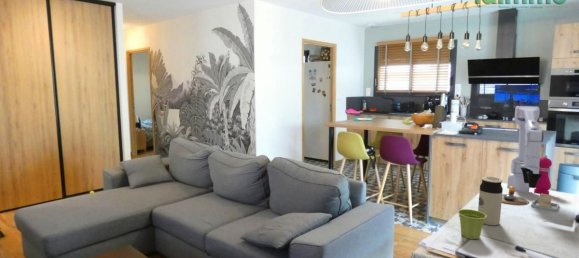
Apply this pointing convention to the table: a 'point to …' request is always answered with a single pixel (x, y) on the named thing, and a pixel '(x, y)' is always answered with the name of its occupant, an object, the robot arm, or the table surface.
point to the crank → (510, 193)
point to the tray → (545, 207)
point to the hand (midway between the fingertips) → (529, 185)
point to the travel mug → (490, 199)
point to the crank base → (515, 201)
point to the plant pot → (471, 223)
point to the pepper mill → (543, 176)
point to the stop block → (545, 200)
